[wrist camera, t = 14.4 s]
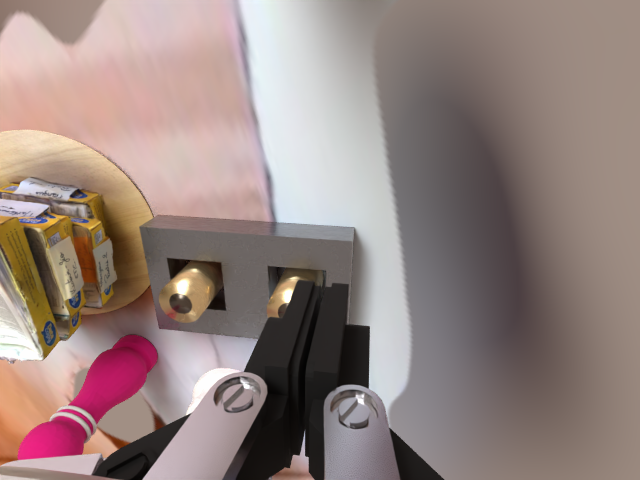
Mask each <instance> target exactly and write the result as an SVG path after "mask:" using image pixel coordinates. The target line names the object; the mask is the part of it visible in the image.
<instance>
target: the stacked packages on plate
mask: <svg viewBox="0 0 640 480" xmlns="http://www.w3.org/2000/svg"><path fill="white" fill-rule="evenodd" d="M152 218H154V217H153V215H152V213H151V210H150V208H149V206H148V204H147V203H146V201H145V199H144V198H143V196H142V195H141V193H140V192H139V190H138V189H137V188H136V187H135V185H134V184H133V183H132V182H131V180H130V179H129V178H128V177H127V176H126V175H125V174H124V173H123V172H122V171H121V170H120V169H118V168H117V167H116V166H115V165H114V164H113V163H111V162H110V161H109V160H107V159H106V158H105V157H103V156H102V155H101V154H99V153H97V152H96V151H94V150H93V149H91V148H89V147H87V146H85V145H83V144H81V143H79V142H77V141H74V140H72V139H69V138H67V137H64V136H60V135H57V134H53V133H49V132H43V131H36V130H11V131H4V132H0V359H1V360H4V359H6V360H7V361H10V362H9V363H8V364H10V363H14V361H16V359H19V360H20V362H22V361H33V360H35V361H42V360H44V359H45V358H46V357H47V356H48V354H49V353H50V352H51V351H52V350H53V348H54V347H55V346H56V345H57V343H58V342H59V341H60V340H62V341H66V340H68V339H69V338H70V337H71V335H72V334H73V333H74V332H75V331H76V330H77V329H78V327H79V326H80V325H81V322H82V321H81V319H82V318H81V315H82V314H84V315H90V314H100V313H106V312H110V311H114V310H117V309H119V308H122V307H124V306H126V305H128V304H130V303H131V302H133V301H134V300H135V299H137V298H138V297H139V296H140V295H141V294H142V293H143V292H144V291H145V290H146V289H147V288H148V286H149V285H150V279H149V274H148V269H147V264H146V259H145V254H144V249H143V244H142V239H141V234H140V229H139V226H141V225H143V224H144V223H146V222H147V221H149V220H151V219H152Z"/></svg>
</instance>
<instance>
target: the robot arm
mask: <svg viewBox="0 0 640 480" xmlns="http://www.w3.org/2000/svg"><path fill="white" fill-rule="evenodd" d="M348 293H349V284H342V283H332V286H331V287H325V290H324V294H323V298H322V302H321V286H315V281H306V280H298V281H297V283H296V285H295V288H294V290H293V293H292V296H291V298H290V301H289V303H288V306H287V308H286V311H285V314H284V316H283V318H278V317H269V318H268V320H267V321H266V324H265V326H264V328H263V330H262V332H261V335H260V337H259V339H258V341H257V344H256V346H255V348H254V350H253V352H252V355H251V357H250V359H249V361H248V363H247V366H246V368H245V370H244V372H237V373H232V374H229V375H226V376H224V377H223V378H221V379H219V380H218V381H217V382H216V383H215V384H214V385H213V386H212V387H211V388H210V389H209V391H208V392H207V393H206V395H205V396H204V397H203V399H202V400H201V401H200V403H199V404H198V406H197V407H196V408H195V410H194V411H193V412H192V413H190V414H188V415H186V416H184V417H182V418H180V419H178V420H176V421H174V422H172V423H170V424H168V425H166V426H164V427H162V428H160V429H158V430H156V431H154V432H152V433H150V434H148V435H146V436H144V437H142V438H140V439H139V440H136V441H134V442H132V443H130V444H128V445H126V446H124V447H122V448H120V449H119V450H117V451H116V452H114V453H112V454H111V455H110V456H109V457H107V458H103V457H102V454H101V453H98V454H86V455H74V456H62V457H50V458H38V459H26V460H17V461H13V462H9V463H6V464H4V465H1V466H0V480H272V476H273V475H275V474H276V473H277V472H279V471H280V470H282V469H283V468H284V467H286V468H290V465H291V461H292V456H293V455H300V452H301V447H302V442H303V437H304V432H305V456H306V457H309V473H310V474H311V475H312V477H313V478H314V479H315V480H444V479H443V478H442V477H441V476H440V475H438V473H437V472H436V471H435V470H433V469H432V468H431V467H430V466H429V465H428V464H427V463H426V462H425V461H424V460H423V459H422V458H421V457H420V456H418V454H417V453H416V452H414V451H413V450H412V449H411V448H410V447H409V446H408V445H407V444H406V443H405V442H404V441H403V440H402V439H401V438H400V437H399V436H397V434H396V433H394V432H393V431H392V430H391V429H390V428H389V425H388V420H387V415H386V411H385V407H384V404H383V402H382V400H381V399H380V398H379V396H378V395H377V394H376V393H374V392H373V391H371V390H370V389H369V340H370V326H360V325H350V324H347V311H348ZM320 305H321V306H320Z"/></svg>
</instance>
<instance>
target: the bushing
mask: <svg viewBox="0 0 640 480" xmlns="http://www.w3.org/2000/svg"><path fill="white" fill-rule="evenodd" d="M323 279H324V276H323V272H322V270H313V269H301V268H288V267H286V268H285V270H284V272H283V274H282V276H281V278H280V280H279V282H278V284H277V286H276V288H275V290H274V292H273V295H272V297H271V299H270V301H269V303H268V305H267V316H268V318H269V317H278V318H283V316H284V314H285V311H286V308H287V306H288V303H289V301H290V298H291V296H292V293H293V290H294V288H295V285H296V283H297V281H298V280H306V281H315V286H321V288H322V284H323Z"/></svg>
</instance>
